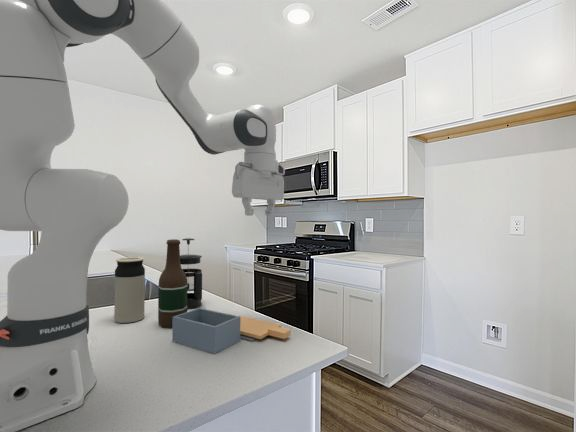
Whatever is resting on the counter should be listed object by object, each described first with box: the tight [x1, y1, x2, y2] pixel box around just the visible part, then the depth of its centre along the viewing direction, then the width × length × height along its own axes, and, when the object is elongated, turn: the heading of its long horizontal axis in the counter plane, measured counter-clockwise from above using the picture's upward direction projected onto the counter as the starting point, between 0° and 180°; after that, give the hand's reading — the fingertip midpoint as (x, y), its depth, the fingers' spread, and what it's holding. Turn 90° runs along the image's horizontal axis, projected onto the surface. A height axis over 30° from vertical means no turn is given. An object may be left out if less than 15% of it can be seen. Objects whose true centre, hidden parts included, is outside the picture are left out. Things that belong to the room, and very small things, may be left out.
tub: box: [171, 307, 241, 355], centre depth 79 cm, size 9×14×6 cm, turn 60°
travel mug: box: [113, 256, 146, 324], centre depth 95 cm, size 8×8×18 cm
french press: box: [180, 237, 203, 311], centre depth 109 cm, size 12×9×23 cm
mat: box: [240, 334, 259, 343], centre depth 87 cm, size 11×14×1 cm
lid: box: [239, 315, 292, 340], centre depth 85 cm, size 10×19×2 cm, turn 59°
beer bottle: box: [157, 238, 188, 329], centre depth 91 cm, size 8×8×24 cm
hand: (259, 215), depth 90 cm, fingers open, 8 cm apart
